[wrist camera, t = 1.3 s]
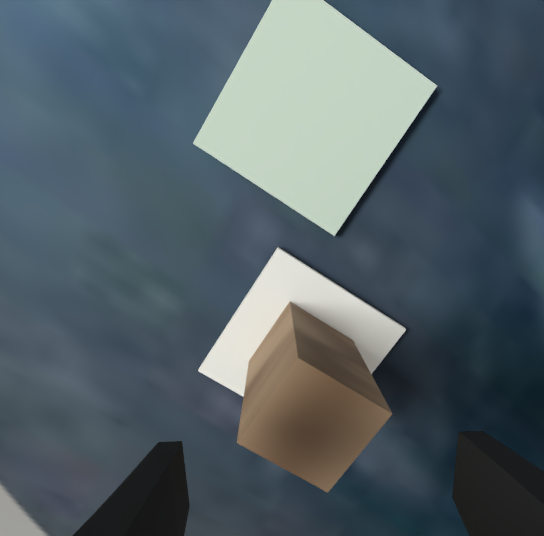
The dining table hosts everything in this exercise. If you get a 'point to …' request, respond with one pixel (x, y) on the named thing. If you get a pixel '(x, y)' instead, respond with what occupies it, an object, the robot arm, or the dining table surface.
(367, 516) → the dining table surface
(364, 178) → the sage mat
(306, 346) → the walnut block
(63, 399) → the dining table surface
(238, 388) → the white tile
